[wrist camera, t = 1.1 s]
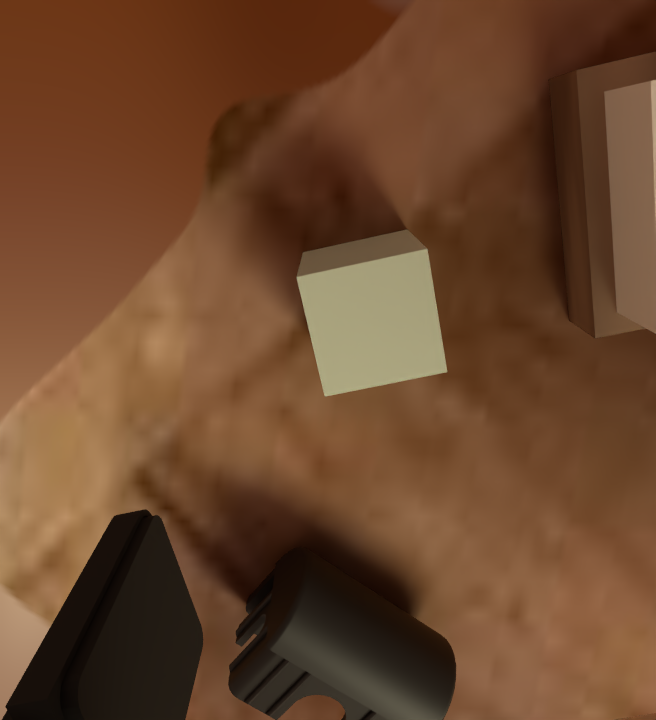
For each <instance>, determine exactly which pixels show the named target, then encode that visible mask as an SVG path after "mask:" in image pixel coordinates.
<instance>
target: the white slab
mask: <svg viewBox="0 0 656 720" xmlns="http://www.w3.org/2000/svg"><path fill="white" fill-rule="evenodd" d="M604 97H605V115H606V132H607V150H608V167H609V185H610V203H611V220H612V238H613V255H614V273H615V290H616V307H617V313H619V314H621V315H623V316H624V317H626V318H628V319H630V320H632V321H633V322H635V323H637V324H639V325H641V326H643V327H644V328H646V329H648V330H650V331H652V332H653V333H655V334H656V80H652V81H648V82H644V83H639V84H635V85H631V86H626V87H622V88H618V89H613V90H609V91H605V92H604Z"/></svg>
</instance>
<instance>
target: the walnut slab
mask: <svg viewBox="0 0 656 720" xmlns="http://www.w3.org/2000/svg"><path fill="white" fill-rule="evenodd" d="M652 80H656V52H651V53H647V54H643V55H639V56H634V57H630V58H626V59H622V60H617V61H613V62H609V63H604V64H600V65H596V66H592V67H587V68H583V69H579V70H575V71H572V72H569V73H566V74H563V75H560V76H557V77H554V78H551V79H549V90H550V102H551V113H552V125H553V137H554V148H555V160H556V172H557V184H558V195H559V207H560V219H561V231H562V242H563V254H564V266H565V277H566V289H567V301H568V313H569V321H571V322H572V323H574V324H575V325H577V326H578V327H580V328H581V329H582V330H584V331H585V332H587V333H588V334H590V335H591V336H592V337H594V338H595V339H596V338H601V337H606V336H610V335H615V334H620V333H625V332H630V331H635V330H640V329H645V328H644V327H643V326H641V325H639V324H637V323H635V322H633V321H632V320H630V319H628V318H626V317H624V316H623V315H621V314H619V313H617V307H616V290H615V273H614V255H613V238H612V220H611V203H610V185H609V167H608V150H607V132H606V115H605V97H604V92H605V91H609V90H613V89H618V88H622V87H626V86H631V85H635V84H639V83H644V82H648V81H652Z"/></svg>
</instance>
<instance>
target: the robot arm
mask: <svg viewBox="0 0 656 720" xmlns="http://www.w3.org/2000/svg"><path fill="white" fill-rule="evenodd" d="M202 647H203V632H202V627H201V624H200V621H199V619H198V616H197V613H196V610H195V608H194V605H193V602H192V600H191V597H190V594H189V592H188V589H187V586H186V584H185V581H184V578H183V575H182V573H181V570H180V567H179V565H178V562H177V559H176V557H175V554H174V551H173V548H172V546H171V543H170V540H169V538H168V535H167V532H166V530H165V527H164V524H163V522H162V520H161V518H160V517H159V516H158V515H155V516H152V515H151V513H150V512H149V511H148V510H140V511H135V512H130V513H125V514H120V515H116V516H114V517H113V519H112V520H111V522H110V523H109V525H108V527H107V529H106V531H105V532H104V534H103V536H102V538H101V539H100V541H99V543H98V545H97V546H96V548H95V550H94V552H93V553H92V555H91V557H90V559H89V560H88V562H87V564H86V566H85V567H84V569H83V571H82V573H81V574H80V576H79V578H78V580H77V581H76V583H75V585H74V587H73V589H72V590H71V592H70V594H69V596H68V597H67V599H66V601H65V603H64V604H63V606H62V608H61V610H60V611H59V613H58V615H57V617H56V618H55V620H54V622H53V624H52V625H51V627H50V629H49V631H48V632H47V634H46V636H45V638H44V640H43V641H42V643H41V645H40V647H39V648H38V650H37V652H36V654H35V655H34V657H33V659H32V661H31V662H30V664H29V666H28V668H27V669H26V671H25V673H24V675H23V677H22V679H21V680H20V682H19V684H18V685H17V687H16V689H15V691H14V692H13V694H12V696H11V698H10V699H9V701H8V703H7V705H6V708H7V712H6V714H5V715H4V717H3V719H2V720H185V718H186V714H187V710H188V706H189V702H190V698H191V693H192V689H193V685H194V681H195V677H196V673H197V668H198V664H199V660H200V656H201V652H202ZM616 720H656V713H654V714H647V715H641V716H635V717H628V718H622V719H616Z"/></svg>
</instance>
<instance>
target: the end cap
mask: <svg viewBox="0 0 656 720" xmlns="http://www.w3.org/2000/svg"><path fill="white" fill-rule="evenodd" d="M246 611H247V613H248V614H249V615H248V616H247V617H246V618H245V619H244V620H243V622H242V623H241V624H240V625H239V628H238V629H237V630H236V636H237V639H236V644H238V645H240V646H243V645H244V644H245V643H246V642H247V640H248V639H249V638H250V637H251V636H252V635H253V634H256V635H257V636H256V637H255V638H254V639H253V641H252V642H251V643H250V644H249V645H248V646H247V647H246V648H245V649H244V650H243V651H242V652H241V653H240V654H239V656H238V657H237V658H236V659H235V660H234V661H233V662H232V663H231V664H230V665H229V669H230V676H229V682H228V685H229V689H230V691H231V693H232V694H233V695H234V696H235V697H236V698H238V699H240V700H242V701H243V702H245V703H247V704H249V705H250V706H252V707H254V708H256V709H258V710H259V711H261V712H263V713H265V714H266V715H268V716H270V717H272V718H274V719H275V720H277V719H278V718H279V717H280V716H281V715H283V714H284V713H285V712H286V711H287V710H288V709H289V708H290V707H291V706H292V705H293V704H294V703H295V702H296V701H297V700H299V699H301V698H303V697H306V696H309V695H325V696H328V697H331V698H333V699H335V700H337V701H338V702H339V703H340V704H341V705H342V706H343V708H344V709H345V715H344V717H343V718H342V719H341V720H443V719H444V717H445V715H446V713H447V711H448V708H449V706H450V703H451V701H452V697H453V693H454V689H455V681H456V662H455V656H454V653H453V650H452V647H451V646H450V644H449V643H448V641H447V640H446V639H445V638H444V637H443V636H442V635H440V634H439V633H437V632H436V631H434V630H433V629H431V628H430V627H428V626H426V625H425V624H423V623H422V622H420V621H419V620H417V619H416V618H414V617H412V616H411V615H409V614H408V613H406V612H405V611H403V610H402V609H400V608H398V607H397V606H395V605H394V604H392V603H391V602H389V601H388V600H386V599H384V598H383V597H381V596H380V595H378V594H377V593H375V592H374V591H372V590H371V589H369V588H367V587H366V586H364V585H363V584H361V583H360V582H358V581H357V580H355V579H353V578H352V577H350V576H349V575H347V574H346V573H344V572H343V571H341V570H339V569H338V568H336V567H335V566H333V565H332V564H330V563H329V562H327V561H325V560H324V559H322V558H321V557H319V556H318V555H316V554H315V553H313V552H312V551H310V550H308V549H307V548H303V547H299V548H295V549H293V550H291V551H289V552H288V553H287V554H285V555H284V556H283V557H282V558H281V559H280V560H279V561H278V562H277V563H276V565H275V569H274V570H273V571H272V572H271V573H270V574H269V576H268V577H267V578H266V579H265V580H264V581H263V582H262V583H261V584H260V585H259V587H258V588H257V589H256V590H255V591H254V592H253V593H252V594H251V595H250V597H249V598H248V600H247V604H246Z"/></svg>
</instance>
